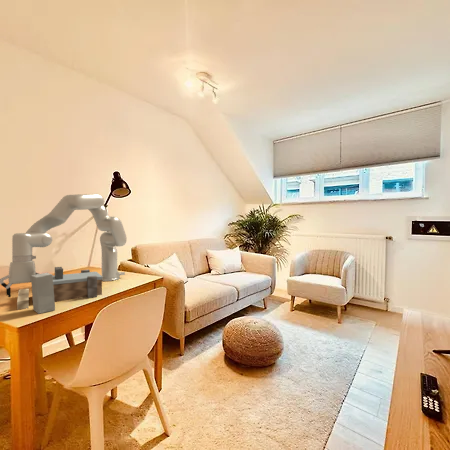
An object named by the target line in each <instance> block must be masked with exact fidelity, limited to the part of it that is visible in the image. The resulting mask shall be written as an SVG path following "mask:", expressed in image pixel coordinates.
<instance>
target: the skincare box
mask: <svg viewBox="0 0 450 450" xmlns="http://www.w3.org/2000/svg"><path fill="white" fill-rule="evenodd" d="M30 283H31V293H32V294H31V296H32V309H33V311H35V312H36V313H37V314H43V313H48V312H52V311H55V310H56V304H55V301H54V288H53V274H52V273H49V272H42V273H39V274H36V275H31V282H30Z"/></svg>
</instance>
